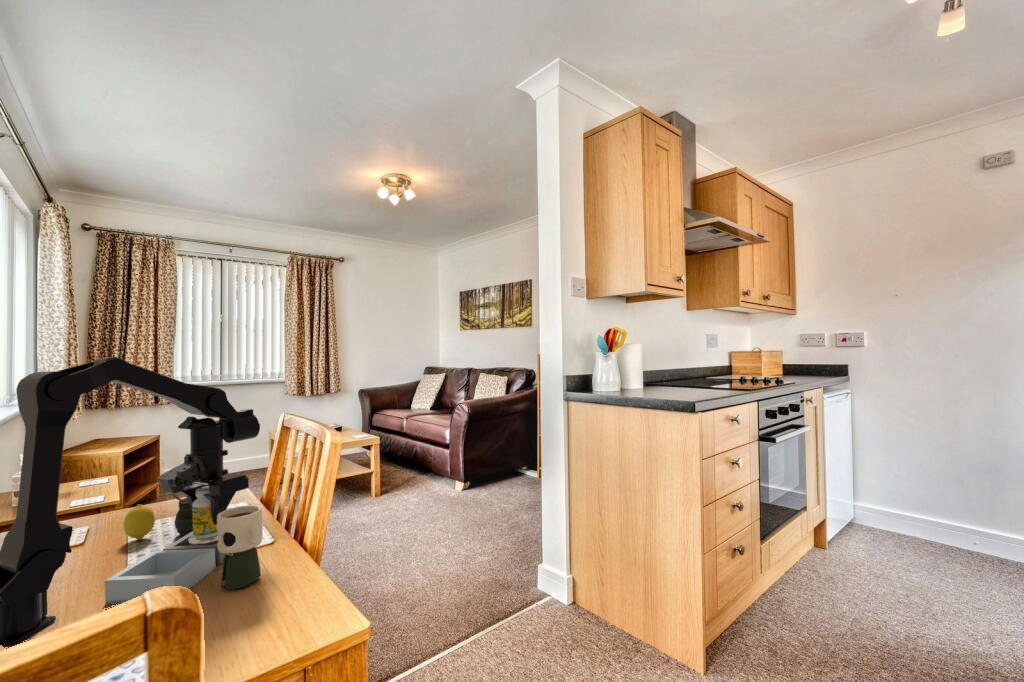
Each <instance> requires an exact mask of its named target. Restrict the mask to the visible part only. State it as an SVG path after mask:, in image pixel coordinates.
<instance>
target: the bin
mask: <svg viewBox="0 0 1024 682" xmlns="http://www.w3.org/2000/svg"><path fill="white" fill-rule="evenodd" d="M215 570H216V565H215V548H210V549H186V550H163V549H161V550H154V551H152V552H151V553H149V554H147V555H146V556H143V557H142V558H141V559H138V560H137V561H136V562H134V563H131V564H130V565H129V566H126V567H125V568H124V569H121V570H119V571H118V572H117V573H116V574H113V575H112V576H110V577H108V578H106V579H105V580H104V604H105V605H120V603H123V602H126V601H128V600H131V599H133V598H136V597H138V596H141V595H142V594H143V593H144V592H146V591H149V590H151V589H155V588H158V587H163V586H182V587H186V588H188V589H189V590H191V589H192V588H193V587H195V586H196V585H197V584H198V583H199V582H201V581H202V580H203V579H204V578H206V577H208V575H210V574H211V573H212V572H213V571H215Z"/></svg>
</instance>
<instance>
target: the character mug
mask: <svg viewBox="0 0 1024 682" xmlns="http://www.w3.org/2000/svg"><path fill="white" fill-rule="evenodd" d="M217 531H218V537H219V539H218V544H217V548H218V550H219V552H220V553H226V554H225V556H224V562H223V563H222V571H221V584H220V585H221V586H220V587H221V588H222V587H223V582H224V589H225V590H234V589H235V590H236V589H238V588H239V589H240V588H243V587H245V586H247V585H249V584H251V583H253V582H254V581H256V580H258V579H259V578H261V576H262V574H261V566H260V561H259V555H258V550H257V548H256V547H258V546H260V544H262V543H263V542H262V541H263V537H264V535H263V533H264V532H263V507H262V506H261V505H258V504H257V505H256V504H252V505H251V504H250V505H240V506H239V505H238V506H235V507H231V508H227V509H226V510H225V511H223V512H221V513H219V514H218V515H217Z"/></svg>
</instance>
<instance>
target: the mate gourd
mask: <svg viewBox="0 0 1024 682" xmlns="http://www.w3.org/2000/svg"><path fill="white" fill-rule="evenodd" d="M172 497H174V498H175V499H176V500H178V508H179V509H178V511H177V513H176V514H175V520H174V527H175V529H176V533H178V534H179V535H180V536H182V537H184V536H186V535H187V534H189V533H191V532H192V531H193V512H192V508H191V505H190V503H189V501H188V499H187V497H185V498H180V497H178V496H177V495H176V494H172Z"/></svg>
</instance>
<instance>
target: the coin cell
mask: <svg viewBox="0 0 1024 682" xmlns="http://www.w3.org/2000/svg"><path fill="white" fill-rule="evenodd" d="M218 539H219V537H218V535H216V536H213V537H210V538H204V539H197V538H194V536H193V535H192V536H190V537H189V538H188V545H189V546H195V545H214V544H216V543H218Z"/></svg>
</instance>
